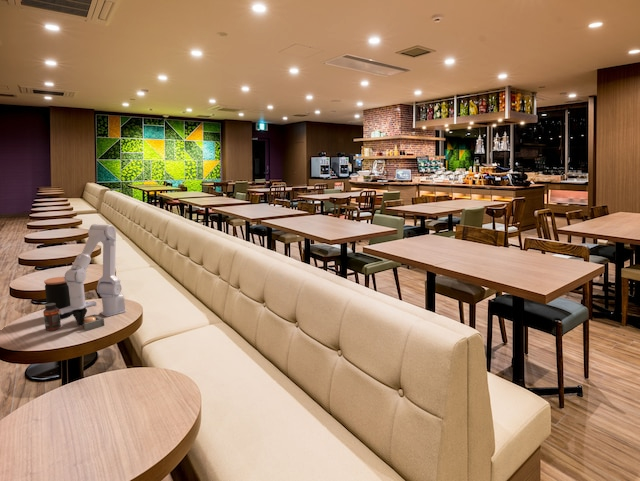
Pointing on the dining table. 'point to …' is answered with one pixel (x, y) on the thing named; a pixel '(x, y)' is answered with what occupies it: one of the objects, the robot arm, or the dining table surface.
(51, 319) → the supplement bottle
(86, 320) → the tan rounded knob
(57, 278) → the coffee jar
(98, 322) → the dock
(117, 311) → the robot arm
